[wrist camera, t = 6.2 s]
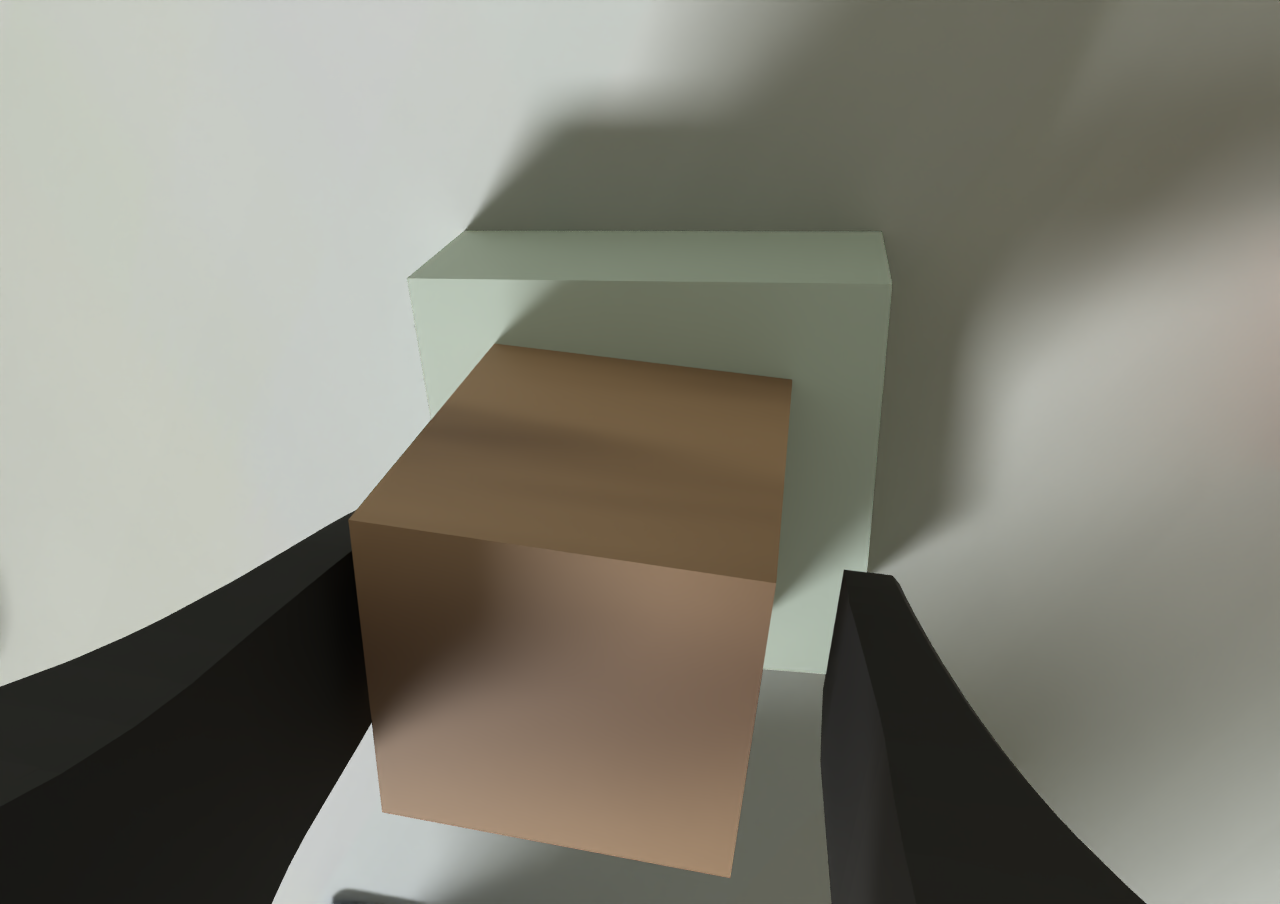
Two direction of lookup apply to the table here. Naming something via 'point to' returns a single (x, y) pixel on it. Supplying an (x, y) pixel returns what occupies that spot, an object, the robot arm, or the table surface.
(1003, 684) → the table surface
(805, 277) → the base block
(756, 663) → the walnut block
